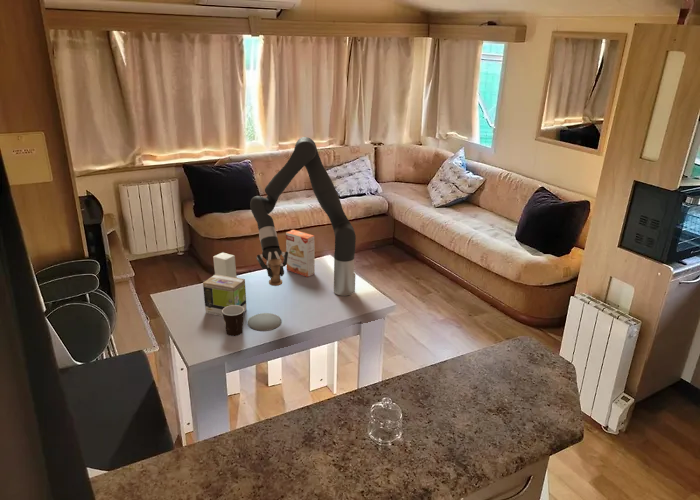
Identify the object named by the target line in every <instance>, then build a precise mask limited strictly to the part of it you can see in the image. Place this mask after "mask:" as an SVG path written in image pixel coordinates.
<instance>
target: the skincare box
mask: <svg viewBox="0 0 700 500" xmlns="http://www.w3.org/2000/svg"><path fill="white" fill-rule="evenodd" d="M212 258H213V268H214V275H215V274H216V275H222V276H228V277H234V278H238V277H237V269H236V268H237V267H236V256H235V255H234V254H229V253H226V252H224V251H222V252H220V253H218V254H215V255H214V256H212Z"/></svg>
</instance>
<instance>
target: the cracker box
mask: <svg viewBox="0 0 700 500" xmlns="http://www.w3.org/2000/svg"><path fill="white" fill-rule="evenodd" d="M315 236H316V235H313V234H311V233H307V232H304V231H301V230H300V231H299V230H296V229H291V230H289V231H286V232H285V245H286V246H285V252H288V258H287V264H286V271H289V272H292V273H295V274H298V275H300V276H303V277H306V278H309V277H311V276H312V275H314V274H315V273H316V272H315V263H316V262H315V258H316V257H315V256H316V255H315V251H316V250H315V239H316V238H315Z"/></svg>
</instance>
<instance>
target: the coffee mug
mask: <svg viewBox="0 0 700 500" xmlns="http://www.w3.org/2000/svg"><path fill="white" fill-rule="evenodd" d="M222 313H223V316H222V317H223V318H222V319H223V322H224V328H225V333H226V335H227V336H229V337H238V336H240V335H242V334H243V332H244V331H243V330H244V318H245V311H244V308H243V307H242V306H239V305H231V306H227V307H225V308H223V310H222Z"/></svg>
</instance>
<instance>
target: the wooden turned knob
mask: <svg viewBox="0 0 700 500" xmlns="http://www.w3.org/2000/svg"><path fill="white" fill-rule="evenodd" d="M280 259H281V258H280ZM280 259H276V258H275V259H271V260H269V264H270V268H271V271H272V278H270V279H269V281H268V284H269V285H270V286H273V287H279V286H282V284H283V280H282V279H281V276H280V264H281V263H283V261H282V259H281V260H280Z"/></svg>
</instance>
